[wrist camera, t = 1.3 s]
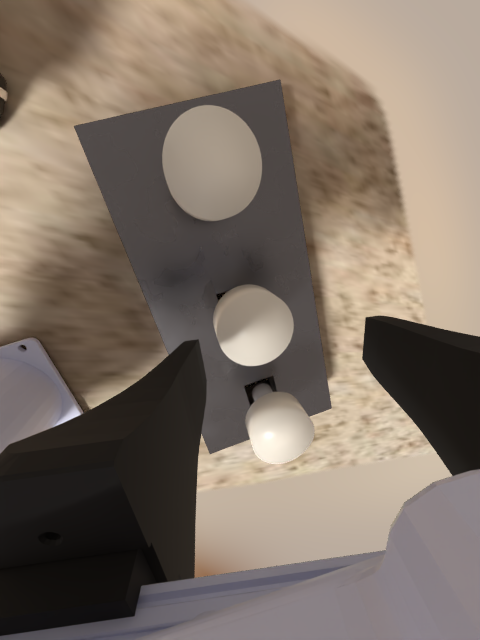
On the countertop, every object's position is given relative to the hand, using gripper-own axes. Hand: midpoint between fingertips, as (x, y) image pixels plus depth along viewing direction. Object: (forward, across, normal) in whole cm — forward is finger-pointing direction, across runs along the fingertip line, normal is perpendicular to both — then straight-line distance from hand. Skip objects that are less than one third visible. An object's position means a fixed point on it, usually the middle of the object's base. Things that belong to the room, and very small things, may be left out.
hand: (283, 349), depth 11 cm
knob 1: (+7, +3, -7) cm, 10 cm away
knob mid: (+7, +2, 0) cm, 7 cm away
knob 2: (+7, +1, +8) cm, 10 cm away
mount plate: (+10, +2, 0) cm, 10 cm away
